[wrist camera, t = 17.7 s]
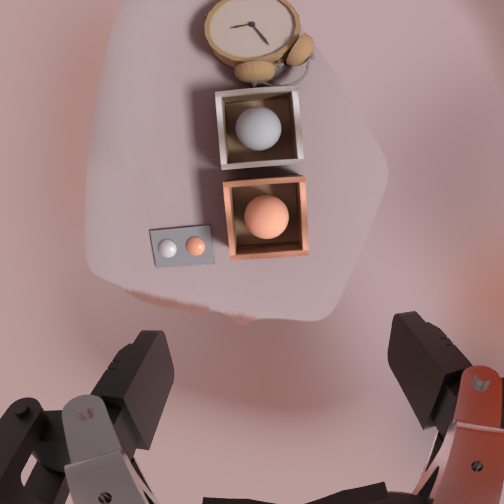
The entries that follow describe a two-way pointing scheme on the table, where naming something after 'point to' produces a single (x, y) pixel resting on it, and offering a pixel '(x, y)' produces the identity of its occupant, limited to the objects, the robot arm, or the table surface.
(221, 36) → the alarm clock
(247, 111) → the grey ball
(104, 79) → the table surface
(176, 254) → the card
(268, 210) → the terracotta ball
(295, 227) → the terracotta-rimmed square box
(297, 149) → the grey-band box
